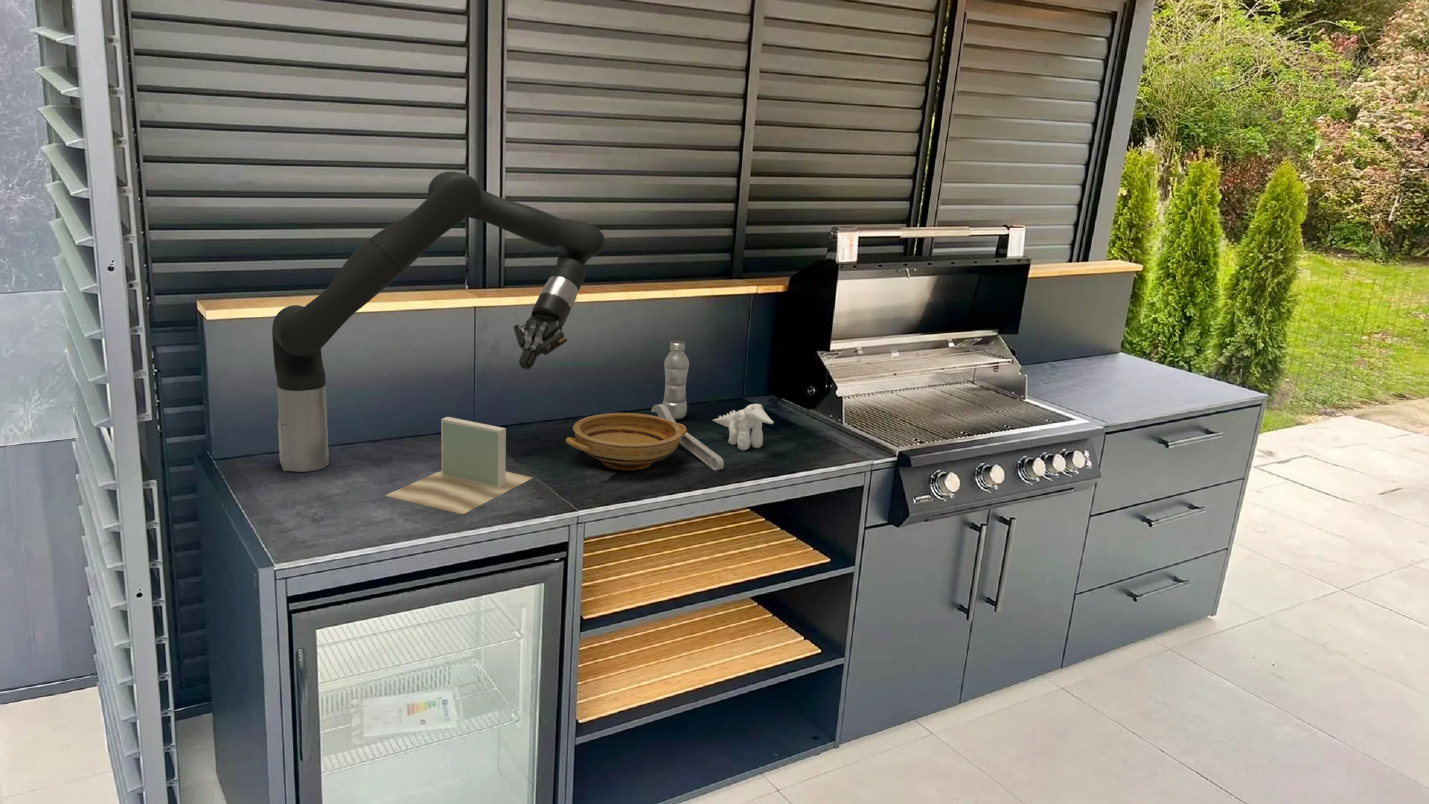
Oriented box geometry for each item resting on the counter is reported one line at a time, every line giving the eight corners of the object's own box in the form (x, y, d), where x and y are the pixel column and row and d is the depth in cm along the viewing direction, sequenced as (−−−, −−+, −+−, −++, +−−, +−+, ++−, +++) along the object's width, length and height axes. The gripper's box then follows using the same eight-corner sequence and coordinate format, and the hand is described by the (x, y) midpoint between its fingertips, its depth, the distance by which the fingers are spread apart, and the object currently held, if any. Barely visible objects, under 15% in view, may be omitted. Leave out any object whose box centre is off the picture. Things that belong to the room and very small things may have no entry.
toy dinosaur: (760, 458, 239) (761, 410, 237) (700, 439, 258) (700, 394, 256) (783, 454, 243) (784, 407, 241) (723, 435, 262) (723, 392, 260)
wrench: (715, 483, 232) (648, 431, 255) (721, 482, 233) (654, 430, 256) (719, 450, 229) (651, 400, 252) (726, 449, 230) (658, 400, 253)
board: (462, 521, 194) (462, 514, 194) (384, 502, 201) (384, 495, 201) (533, 484, 216) (533, 477, 215) (461, 468, 222) (461, 461, 222)
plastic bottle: (687, 416, 271) (692, 340, 266) (684, 423, 265) (688, 346, 260) (663, 413, 272) (667, 338, 267) (659, 421, 265) (663, 343, 260)
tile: (441, 475, 213) (440, 419, 210) (447, 472, 215) (447, 416, 212) (499, 488, 208) (499, 431, 205) (505, 485, 210) (505, 428, 207)
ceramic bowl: (654, 438, 251) (656, 406, 249) (712, 469, 232) (714, 434, 230) (542, 454, 234) (542, 420, 232) (594, 489, 215) (595, 452, 213)
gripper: (523, 288, 229) (490, 352, 222) (575, 295, 224) (544, 361, 217) (536, 308, 235) (504, 372, 228) (587, 315, 231) (557, 381, 223)
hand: (524, 366), depth 222 cm, fingers closed
